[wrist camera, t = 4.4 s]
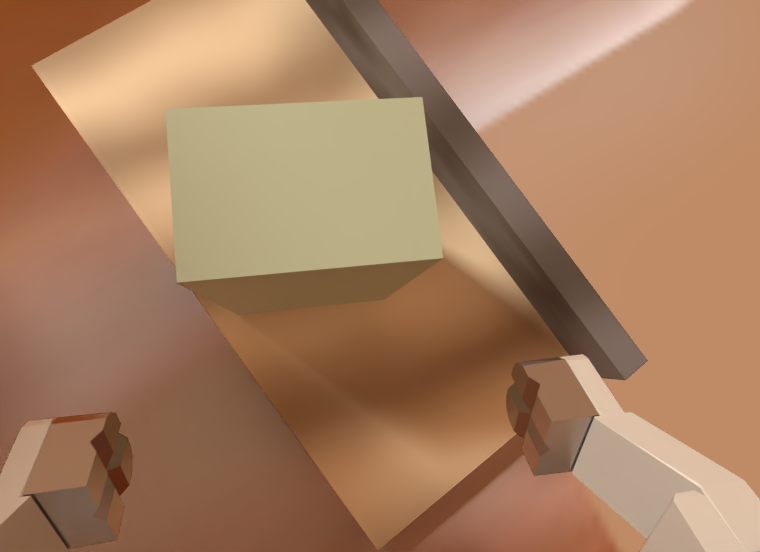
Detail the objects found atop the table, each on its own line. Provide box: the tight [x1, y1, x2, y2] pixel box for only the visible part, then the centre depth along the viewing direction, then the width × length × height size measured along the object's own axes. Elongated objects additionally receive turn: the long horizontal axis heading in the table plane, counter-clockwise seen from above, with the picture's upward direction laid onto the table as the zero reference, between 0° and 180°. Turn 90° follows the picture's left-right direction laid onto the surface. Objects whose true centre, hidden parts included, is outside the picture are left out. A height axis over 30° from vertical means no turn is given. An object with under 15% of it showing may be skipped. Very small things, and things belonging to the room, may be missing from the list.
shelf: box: [32, 0, 648, 551], centre depth 22 cm, size 24×13×4 cm, turn 36°
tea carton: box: [165, 97, 443, 315], centre depth 17 cm, size 4×6×10 cm
